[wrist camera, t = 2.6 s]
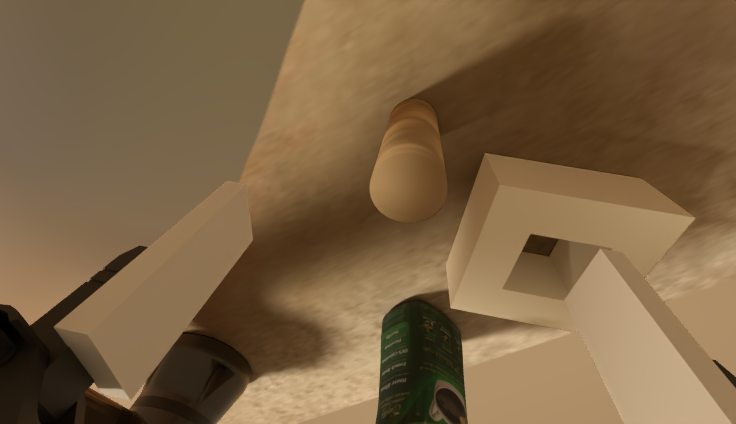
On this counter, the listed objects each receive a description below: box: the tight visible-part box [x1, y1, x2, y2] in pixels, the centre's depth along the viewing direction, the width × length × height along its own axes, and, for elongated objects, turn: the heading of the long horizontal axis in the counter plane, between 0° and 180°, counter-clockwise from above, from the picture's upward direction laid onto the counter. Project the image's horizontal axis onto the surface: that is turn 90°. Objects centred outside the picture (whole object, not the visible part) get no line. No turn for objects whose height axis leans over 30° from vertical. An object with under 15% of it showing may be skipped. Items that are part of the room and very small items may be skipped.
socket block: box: [446, 153, 695, 333], centre depth 27 cm, size 13×13×6 cm
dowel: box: [369, 99, 448, 223], centre depth 21 cm, size 4×4×12 cm
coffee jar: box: [376, 301, 468, 424], centre depth 31 cm, size 10×8×19 cm
